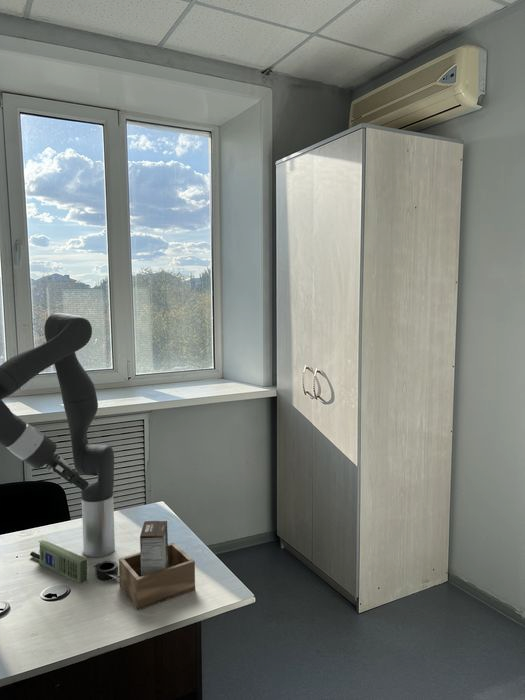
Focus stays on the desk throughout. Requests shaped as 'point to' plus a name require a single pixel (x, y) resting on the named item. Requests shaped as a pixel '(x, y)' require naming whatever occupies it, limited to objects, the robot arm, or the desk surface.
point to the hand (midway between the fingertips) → (81, 481)
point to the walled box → (157, 578)
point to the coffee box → (154, 547)
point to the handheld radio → (62, 561)
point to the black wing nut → (107, 570)
